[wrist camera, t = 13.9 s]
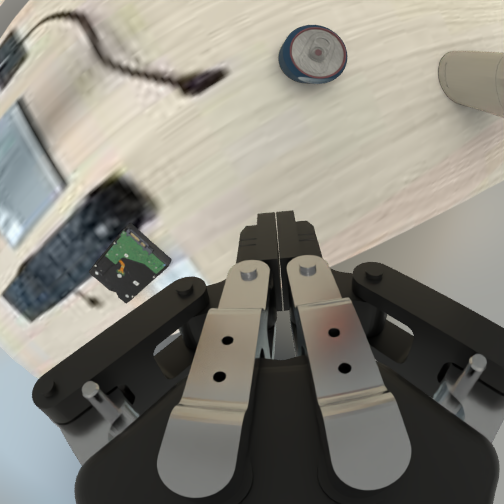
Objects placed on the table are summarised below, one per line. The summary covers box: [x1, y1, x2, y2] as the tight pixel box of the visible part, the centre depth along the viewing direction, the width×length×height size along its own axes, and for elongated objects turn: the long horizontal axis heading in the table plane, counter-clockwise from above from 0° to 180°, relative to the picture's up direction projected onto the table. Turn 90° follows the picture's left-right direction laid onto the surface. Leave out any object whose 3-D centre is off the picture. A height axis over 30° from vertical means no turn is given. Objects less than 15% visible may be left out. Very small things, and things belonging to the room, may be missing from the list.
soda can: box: [279, 25, 347, 84], centre depth 29 cm, size 7×7×12 cm
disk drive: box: [89, 223, 171, 303], centre depth 53 cm, size 10×3×15 cm
